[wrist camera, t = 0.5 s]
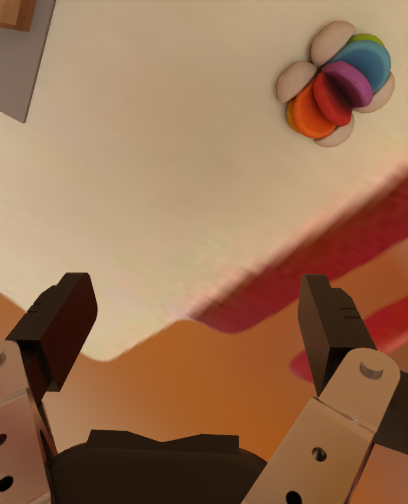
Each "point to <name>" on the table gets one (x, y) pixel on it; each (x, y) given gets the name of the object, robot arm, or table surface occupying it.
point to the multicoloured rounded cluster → (336, 84)
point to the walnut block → (16, 14)
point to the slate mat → (22, 61)
